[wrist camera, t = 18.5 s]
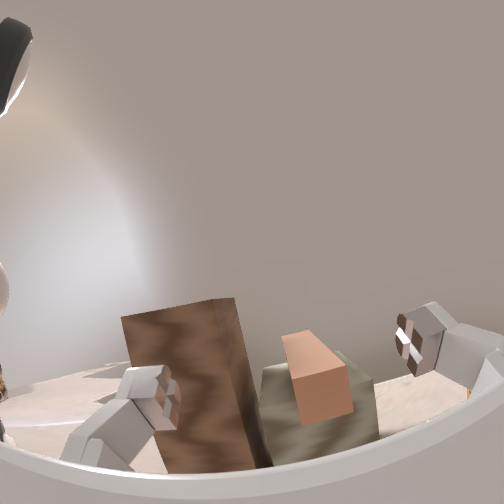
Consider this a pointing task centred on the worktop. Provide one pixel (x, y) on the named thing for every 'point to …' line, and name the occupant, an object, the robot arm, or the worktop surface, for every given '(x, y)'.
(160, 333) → the stand
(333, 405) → the peach rectangular bar
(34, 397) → the worktop surface
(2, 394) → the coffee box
